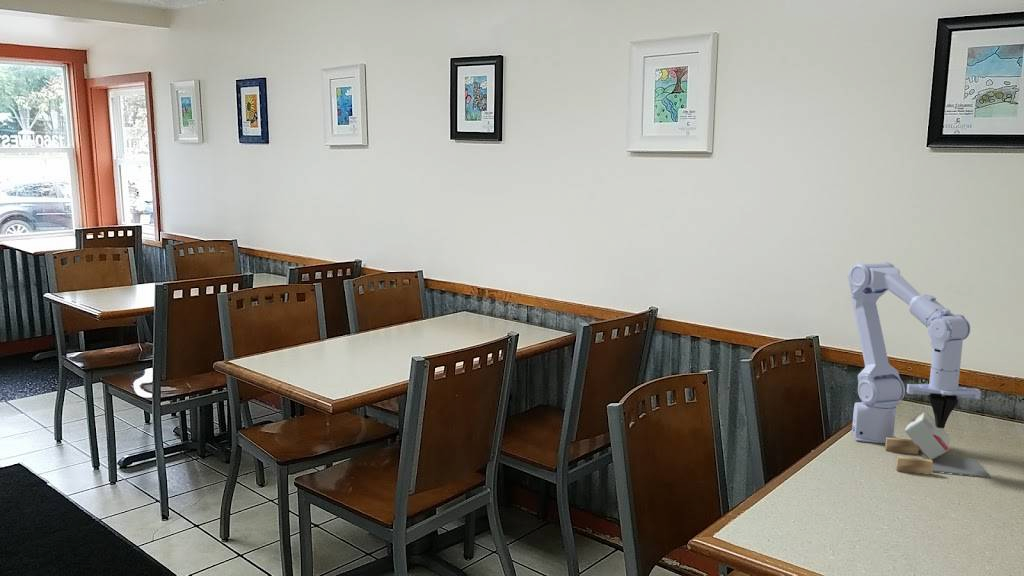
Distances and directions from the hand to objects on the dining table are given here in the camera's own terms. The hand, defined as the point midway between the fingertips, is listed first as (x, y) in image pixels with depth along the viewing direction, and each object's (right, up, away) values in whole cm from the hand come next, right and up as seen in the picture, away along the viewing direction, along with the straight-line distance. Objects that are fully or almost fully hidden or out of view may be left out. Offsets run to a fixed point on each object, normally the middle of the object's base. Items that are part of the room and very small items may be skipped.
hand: (939, 426), depth 176 cm
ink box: (-2, -4, +2) cm, 4 cm away
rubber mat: (+4, -9, 0) cm, 10 cm away
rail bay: (-6, -9, +3) cm, 11 cm away
